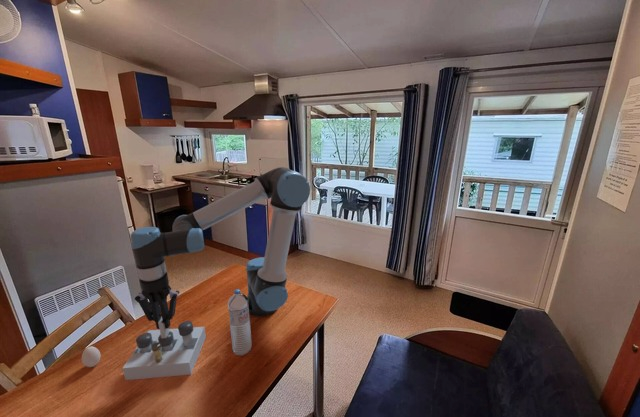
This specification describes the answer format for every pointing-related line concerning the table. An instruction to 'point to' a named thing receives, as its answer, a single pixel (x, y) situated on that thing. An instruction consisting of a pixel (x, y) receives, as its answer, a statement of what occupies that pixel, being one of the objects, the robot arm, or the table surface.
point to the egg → (90, 356)
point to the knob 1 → (144, 342)
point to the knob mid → (167, 342)
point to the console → (166, 357)
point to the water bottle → (240, 323)
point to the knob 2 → (186, 332)
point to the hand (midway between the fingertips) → (165, 335)
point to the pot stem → (157, 352)
